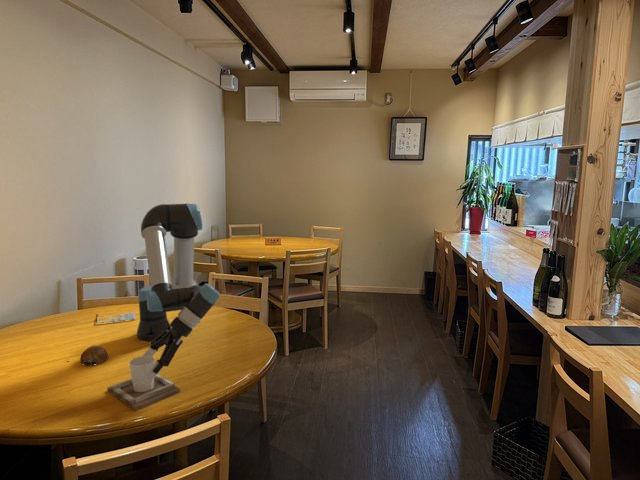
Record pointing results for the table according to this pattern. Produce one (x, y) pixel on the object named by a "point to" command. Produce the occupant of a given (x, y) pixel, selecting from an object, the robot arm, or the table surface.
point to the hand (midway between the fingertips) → (143, 371)
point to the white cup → (141, 373)
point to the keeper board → (143, 399)
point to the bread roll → (94, 355)
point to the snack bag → (127, 317)
